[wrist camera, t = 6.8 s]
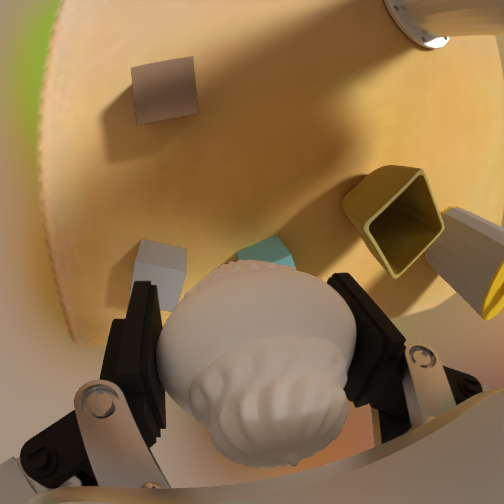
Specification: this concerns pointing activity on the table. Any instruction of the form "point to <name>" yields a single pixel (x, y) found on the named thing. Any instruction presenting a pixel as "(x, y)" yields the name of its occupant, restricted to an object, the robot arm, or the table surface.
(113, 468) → the robot arm
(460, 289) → the soap bottle
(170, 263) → the grey cube
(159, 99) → the walnut cube
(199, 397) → the muffin
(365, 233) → the flower pot
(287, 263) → the teal cube
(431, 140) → the table surface
